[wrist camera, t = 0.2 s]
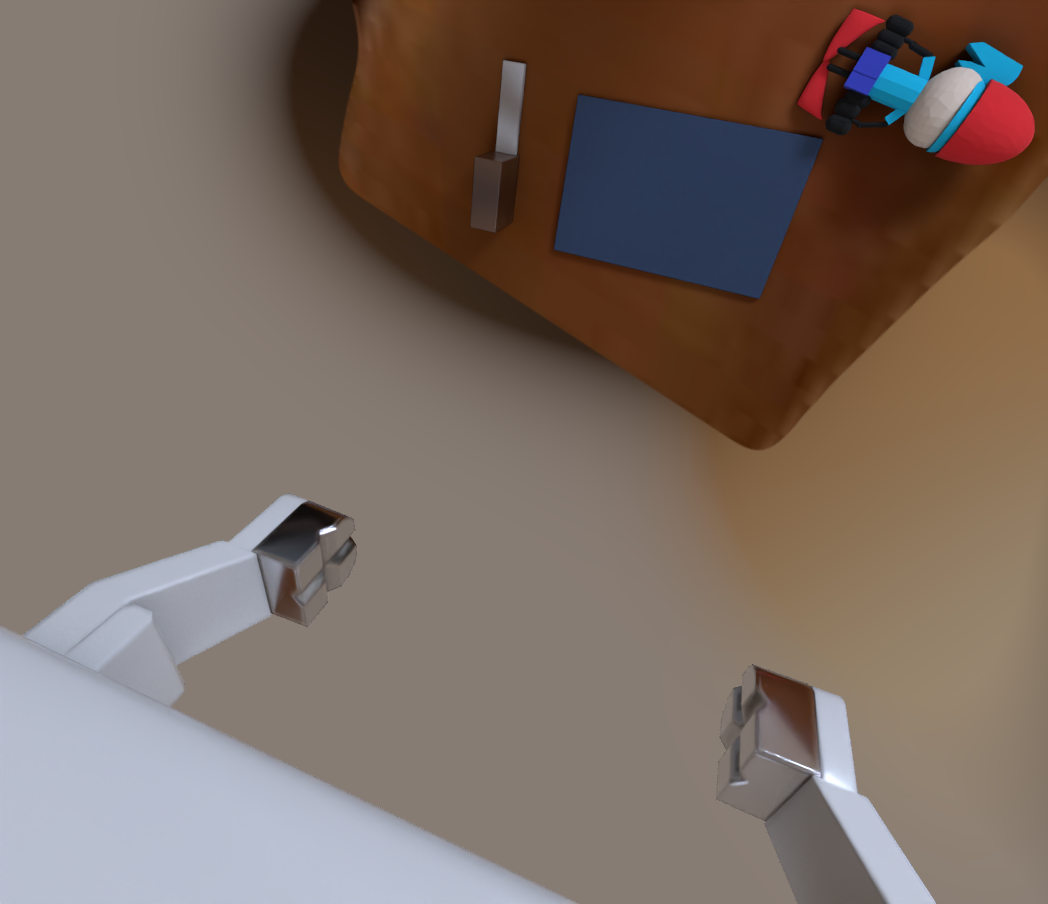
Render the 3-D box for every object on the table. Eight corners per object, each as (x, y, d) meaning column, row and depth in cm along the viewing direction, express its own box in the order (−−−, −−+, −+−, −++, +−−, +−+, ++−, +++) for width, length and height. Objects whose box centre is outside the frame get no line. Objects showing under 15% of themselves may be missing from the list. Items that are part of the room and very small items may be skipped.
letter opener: (512, 222, 55) (495, 233, 51) (488, 217, 55) (469, 227, 52) (530, 64, 47) (511, 63, 44) (501, 59, 48) (480, 58, 44)
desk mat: (579, 94, 47) (578, 94, 47) (823, 138, 43) (823, 139, 43) (554, 248, 55) (553, 249, 55) (759, 297, 51) (759, 299, 51)
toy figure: (792, 116, 44) (976, 198, 41) (787, 109, 40) (991, 200, 37) (857, 2, 40) (1068, 84, 37) (859, -18, 36) (1095, 73, 33)
